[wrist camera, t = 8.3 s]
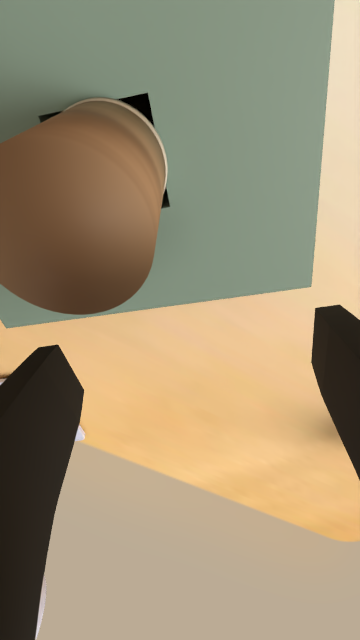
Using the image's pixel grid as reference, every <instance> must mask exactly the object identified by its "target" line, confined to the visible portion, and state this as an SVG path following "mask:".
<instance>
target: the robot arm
mask: <svg viewBox="0 0 360 640" xmlns="http://www.w3.org/2000/svg"><path fill="white" fill-rule="evenodd" d="M311 363H312V366H313V369H314V373H315V376H316V379H317V382H318V386H319V389H320V392H321V395H322V397H323V400H324V402H325V404H326V406H327V409H328V411H329V413H330V415H331V418H332V420H333V422H334V424H335V426H336V429H337V431H338V433H339V435H340V437H341V440H342V442H343V444H344V446H345V448H346V451H347V453H348V455H349V457H350V459H351V462H352V464H353V466H354V468H355V470H356V473H357V475H358V477H359V480H360V320H359V319H358V318H356V317H355V316H354V315H352V314H351V313H350V312H349V311H347V310H346V309H345V308H343V307H342V306H341V305H334V306H327V307H320V308H315V319H314V333H313V347H312V361H311ZM83 395H84V389H83V387H82V386H81V384H80V382H79V380H78V379H77V377H76V375H75V373H74V372H73V370H72V368H71V366H70V365H69V363H68V361H67V359H66V358H65V356H64V354H63V352H62V351H61V349H60V347H59V345H52V346H45V347H39V348H37V349H36V350H35V351H34V352H33V353H32V354H31V355H30V356H29V357H28V358H27V359H26V360H25V361H24V362H23V363H22V364H21V365H20V366H19V367H18V368H17V369H16V370H15V371H14V372H13V373H12V374H11V375H10V376H9V377H8V378H6V379H0V640H36V638H37V635H38V632H39V629H40V625H41V621H42V617H43V612H44V607H45V600H46V579H45V576H44V571H45V565H46V558H47V552H48V546H49V541H50V535H51V529H52V525H53V519H54V514H55V510H56V505H57V501H58V498H59V494H60V491H61V487H62V483H63V480H64V477H65V473H66V469H67V466H68V463H69V459H70V455H71V452H72V448H73V445H74V441H80V440H83V439H84V438H85V433H84V431H83V429H82V428H81V426H80V425H79V423H80V417H81V410H82V403H83Z"/></svg>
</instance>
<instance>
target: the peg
mask: <svg viewBox="0 0 360 640" xmlns="http://www.w3.org/2000/svg"><path fill="white" fill-rule="evenodd" d="M167 173H168V165H167V157H166V152H165V148H164V145H163V143H162V140H161V138H160V136H159V134H158V132H157V131H156V129H155V128H154V126H153V125H152V124H151V122H150V121H149V120H148V119H147V118H146V117H145V116H144V115H143V114H142V113H141V112H139V111H138V110H137V109H135V108H134V107H132V106H131V105H129V104H127V103H124V102H122V101H119V100H116V99H113V98H106V97H94V98H89V99H85V100H82V101H79V102H77V103H75V104H73V105H72V106H70V107H68V108H67V109H66V110H64V111H63V112H61V113H60V114H58V115H56V116H54V117H52V118H50V119H48V120H46V121H44V122H42V123H40V124H38V125H36V126H34V127H32V128H30V129H28V130H26V131H24V132H22V133H20V134H18V135H16V136H14V137H12V138H10V139H8V140H6V141H4V142H2V143H0V284H1V285H2V286H4V287H5V288H6V289H8V290H9V291H10V292H12V293H13V294H15V295H16V296H18V297H19V298H21V299H23V300H25V301H27V302H29V303H31V304H33V305H35V306H38V307H40V308H43V309H46V310H50V311H53V312H58V313H63V314H72V315H87V314H95V313H100V312H104V311H107V310H110V309H113V308H115V307H117V306H119V305H121V304H123V303H124V302H126V301H127V300H129V299H130V298H131V297H132V296H133V295H134V294H135V293H137V291H138V290H139V289H140V288H141V286H142V285H143V284H144V282H145V280H146V279H147V277H148V275H149V272H150V270H151V267H152V263H153V258H154V252H155V246H156V239H157V233H158V226H159V219H160V213H161V206H162V200H163V194H164V191H165V187H166V182H167Z"/></svg>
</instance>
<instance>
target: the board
mask: <svg viewBox="0 0 360 640" xmlns="http://www.w3.org/2000/svg"><path fill="white" fill-rule="evenodd" d="M334 1H335V0H0V143H2V142H4V141H6V140H8V139H10V138H12V137H14V136H16V135H18V134H20V133H22V132H24V131H26V130H28V129H30V128H32V127H34V126H36V125H38V124H40V123H42V122H44V121H46V120H48V119H50V118H52V117H54V116H56V115H58V114H60V113H61V112H60V111H64V110H66V109H67V108H68V107H70V106H72V105H73V104H75V103H77V102H79V101H82V100H85V99H89V98H94V97H106V98H113V99H120V98H125V97H130V96H134V95H139V94H144V93H148V96H149V101H150V106H151V112H152V117H153V122H154V127H155V129H156V131H157V132H158V134H159V136H160V138H161V140H162V143H163V145H164V148H165V152H166V157H167V165H168V173H167V182H166V188H167V189H165V191H164V194H163V200H162V206H161V213H160V219H159V226H158V233H157V239H156V246H155V252H154V258H153V263H152V267H151V270H150V272H149V275H148V277H147V279H146V280H145V282H144V284H143V285H142V286H141V288H140V289H139V290H138V291H137V293H135V294H134V295H133V296H132V297H131V298H130V299H129V300H127V301H126V302H124V303H123V304H121V305H119V306H117V307H115V308H113V309H110V310H107V311H104V312H100V313H95V314H87V315H72V314H63V313H58V312H53V311H50V310H46V309H43V308H40V307H38V306H35V305H33V304H31V303H29V302H27V301H25V300H23V299H21V298H19V297H18V296H16V295H15V294H13V293H12V292H10V291H9V290H8V289H6V288H5V287H4V286H2V285H1V284H0V320H1V321H2V323H3V324H4V326H5V327H6V328H12V327H20V326H27V325H34V324H42V323H49V322H57V321H64V320H71V319H79V318H86V317H93V316H101V315H108V314H115V313H123V312H130V311H138V310H145V309H152V308H160V307H167V306H174V305H182V304H189V303H196V302H204V301H211V300H219V299H226V298H233V297H241V296H248V295H255V294H263V293H270V292H277V291H285V290H292V289H300V288H307V287H311V284H312V272H313V260H314V247H315V235H316V223H317V210H318V198H319V186H320V173H321V161H322V149H323V136H324V124H325V112H326V99H327V87H328V75H329V62H330V50H331V38H332V25H333V13H334Z"/></svg>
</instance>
